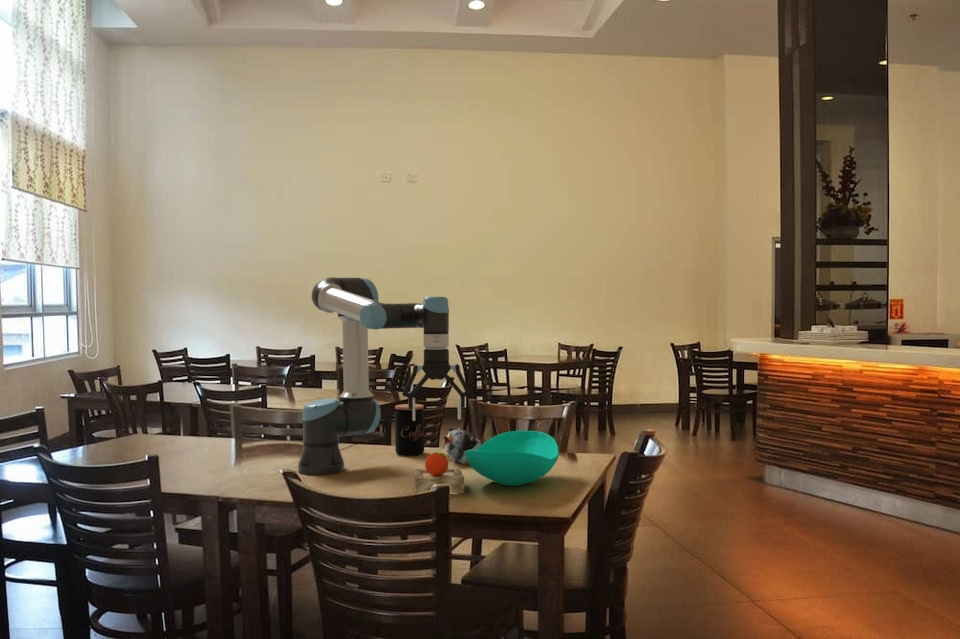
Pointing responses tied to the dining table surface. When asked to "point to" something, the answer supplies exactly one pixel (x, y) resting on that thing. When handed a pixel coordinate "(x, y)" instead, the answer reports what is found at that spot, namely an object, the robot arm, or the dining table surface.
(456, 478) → the tray
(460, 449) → the grey sculpted piece
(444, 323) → the robot arm
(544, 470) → the table top decor
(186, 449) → the dining table surface
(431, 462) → the clementine
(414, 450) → the coffee jar
